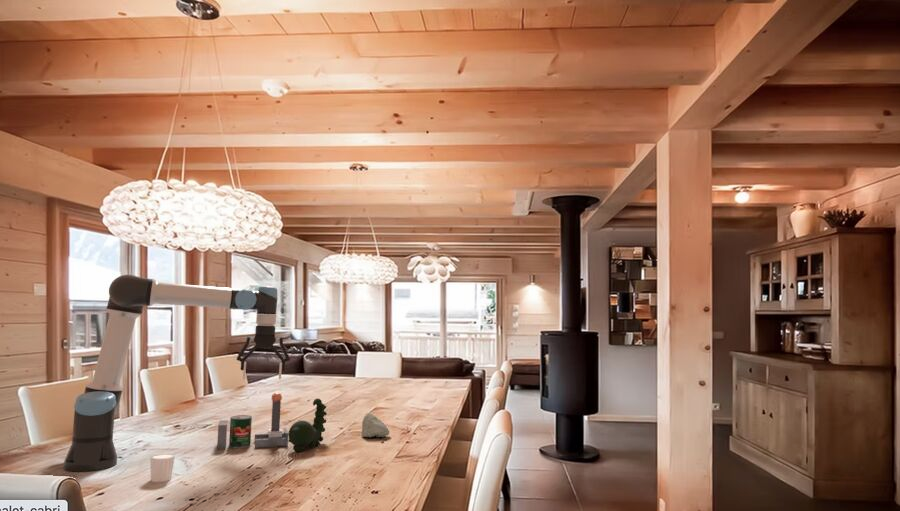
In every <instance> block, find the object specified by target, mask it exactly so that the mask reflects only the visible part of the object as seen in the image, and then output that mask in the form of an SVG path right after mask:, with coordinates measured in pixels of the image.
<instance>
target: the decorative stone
mask: <svg viewBox="0 0 900 511" xmlns="http://www.w3.org/2000/svg"><path fill="white" fill-rule="evenodd" d="M361 426H362V428H361V437H362V438H365V437H369V438H373V437H374V438H379V437H382V438H385V437H386V436H389V434H390V430H389V428H388V426H387V425H386V424H385V423H384V422H383V421H382V420H381V419H380V418H378V417H377V416H376V415H374V414H372V413H366V414H365V416H364V417H363V419H362V423H361ZM375 436H376V437H375Z"/></svg>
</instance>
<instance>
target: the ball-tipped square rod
mask: <svg viewBox="0 0 900 511" xmlns="http://www.w3.org/2000/svg"><path fill="white" fill-rule="evenodd" d="M282 400H283V396H282V394H281V393H279V392H274V393H273V394H272V396H271V401H272V402H271V403H272V404H271V406H272V407H271V420H270V421H271V424H270V425H271V426H270V427H269V428H268V429H267V434H268V439H271V438H282V433H283V429H282V427H280V426H281V424H280V423H281V406H282V405H281V404H282V403H281V402H282Z"/></svg>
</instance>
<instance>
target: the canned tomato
mask: <svg viewBox="0 0 900 511" xmlns="http://www.w3.org/2000/svg"><path fill="white" fill-rule="evenodd" d="M252 418H253V417H252V416H251V415H245V414H244V415H243V414H241V415H239V414H238V415H232V416H230V419H229V420H230V421H229V422H230V424H229V441H228V447H229V448H232V449H243V448H248V447H250V446H251V441H252V440H251V439H252V438H251V437H252V421H253V420H252Z"/></svg>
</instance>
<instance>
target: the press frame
mask: <svg viewBox="0 0 900 511" xmlns="http://www.w3.org/2000/svg"><path fill="white" fill-rule="evenodd" d="M228 424H229V423H228V420H227V419H224V420H219V422H218V428H217V442H216V445H217V446H216V450H217V451H220V450H221V451H222V449H224V450H227V449H226V448H227V442H228V441H227V439H228V438H227V437H228V436H227V435H228ZM288 433H289V430H288V429H287V427H283V432H282V438H271V439H268V433H255V434H254V442H253V443H255V444H254V449H262V448H278V447H277V446H284V447H288V446H289V435H288Z"/></svg>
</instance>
